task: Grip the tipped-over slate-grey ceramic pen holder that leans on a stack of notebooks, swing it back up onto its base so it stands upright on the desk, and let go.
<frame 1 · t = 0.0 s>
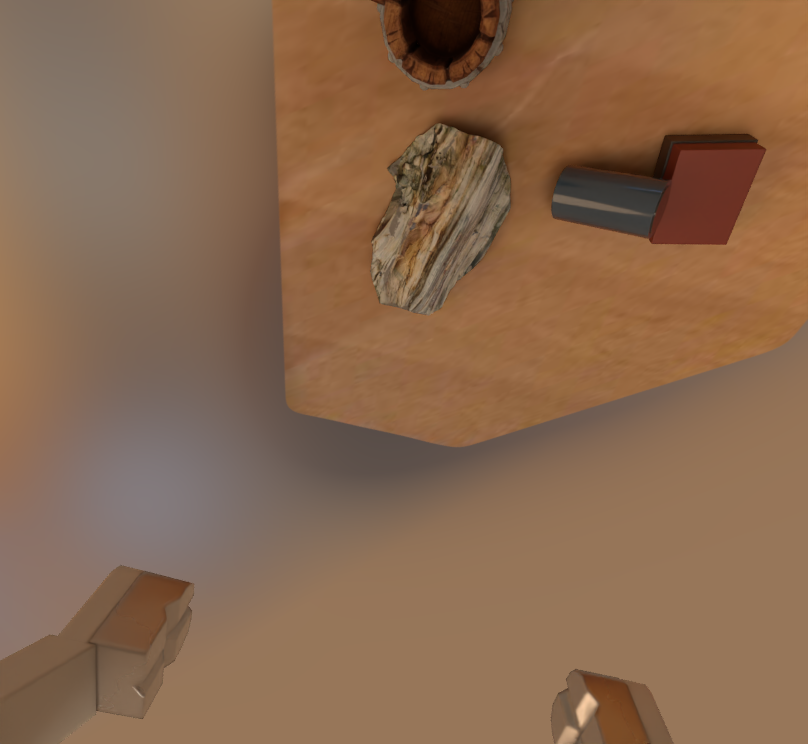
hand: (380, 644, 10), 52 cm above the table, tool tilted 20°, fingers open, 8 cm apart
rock: (433, 220, 57), on the table
pen holder: (609, 200, 48), point 5 cm above the table, hinge at 60.0°
mug: (433, 5, 44), on the table
notebooks: (689, 184, 51), on the table
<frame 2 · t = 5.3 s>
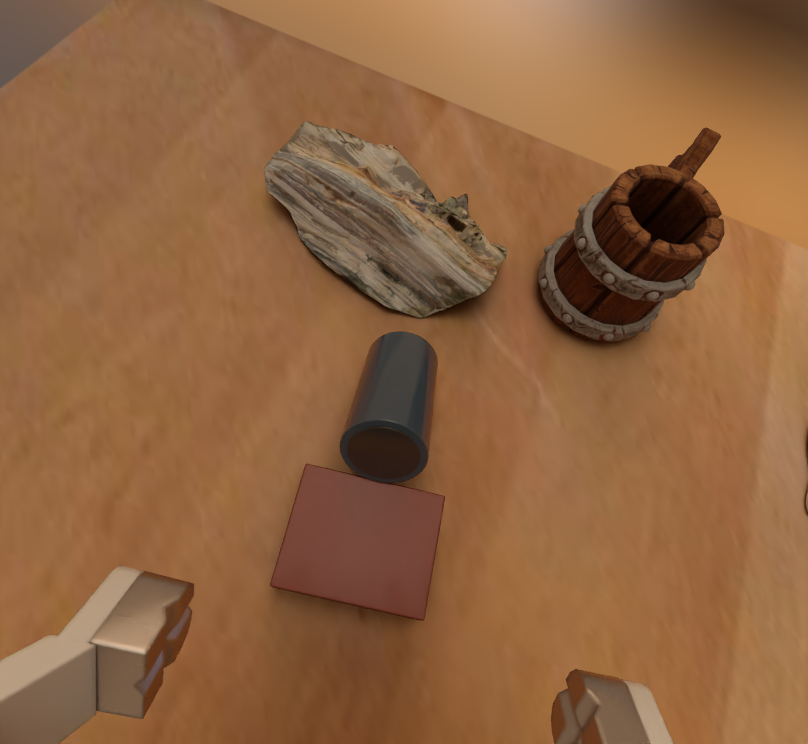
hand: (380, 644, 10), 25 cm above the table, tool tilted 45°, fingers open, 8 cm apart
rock: (386, 229, 45), on the table
pen holder: (394, 402, 33), point 5 cm above the table, hinge at 60.0°
mug: (594, 282, 46), on the table
notebooks: (359, 541, 34), on the table
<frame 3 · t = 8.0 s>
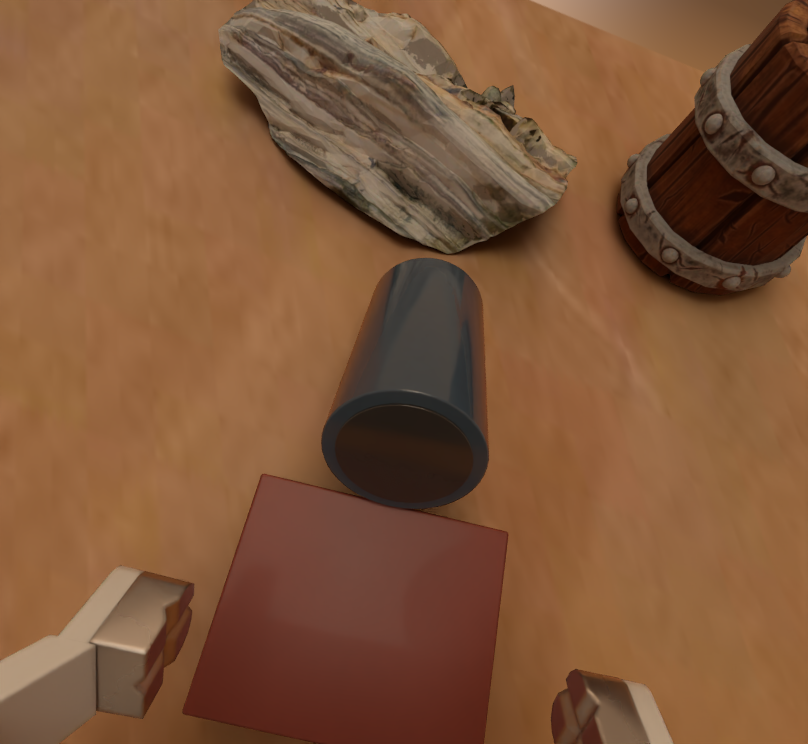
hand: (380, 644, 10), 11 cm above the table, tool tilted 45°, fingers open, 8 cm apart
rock: (398, 133, 31), on the table
pen holder: (417, 368, 19), point 5 cm above the table, hinge at 60.0°
mug: (692, 214, 32), on the table
notebooks: (356, 602, 20), on the table
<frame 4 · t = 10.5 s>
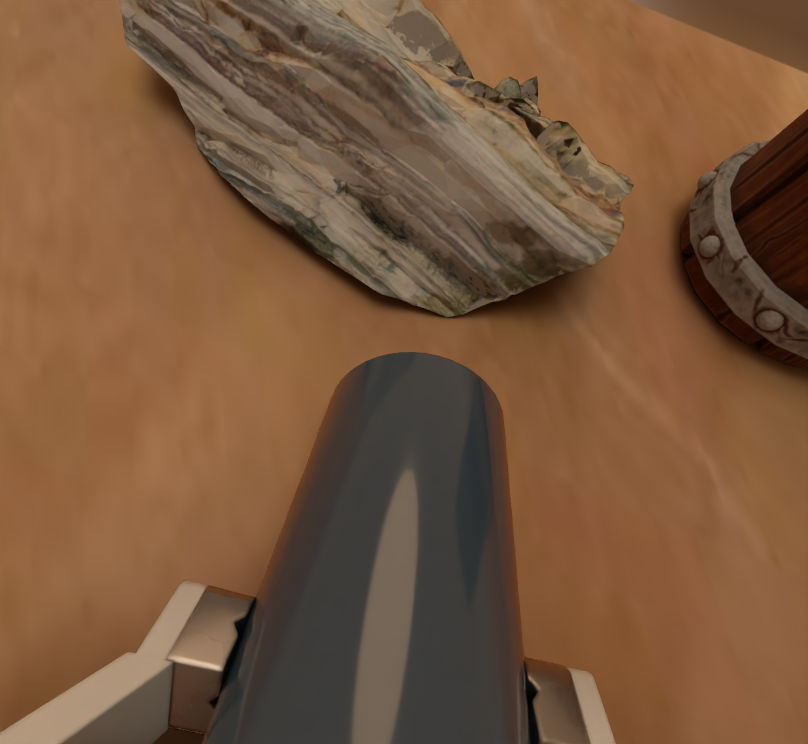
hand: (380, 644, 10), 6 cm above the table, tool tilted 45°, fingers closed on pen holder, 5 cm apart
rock: (380, 142, 23), on the table
pen holder: (394, 569, 11), point 5 cm above the table, hinge at 60.0°, touching gripper
mug: (780, 251, 24), on the table
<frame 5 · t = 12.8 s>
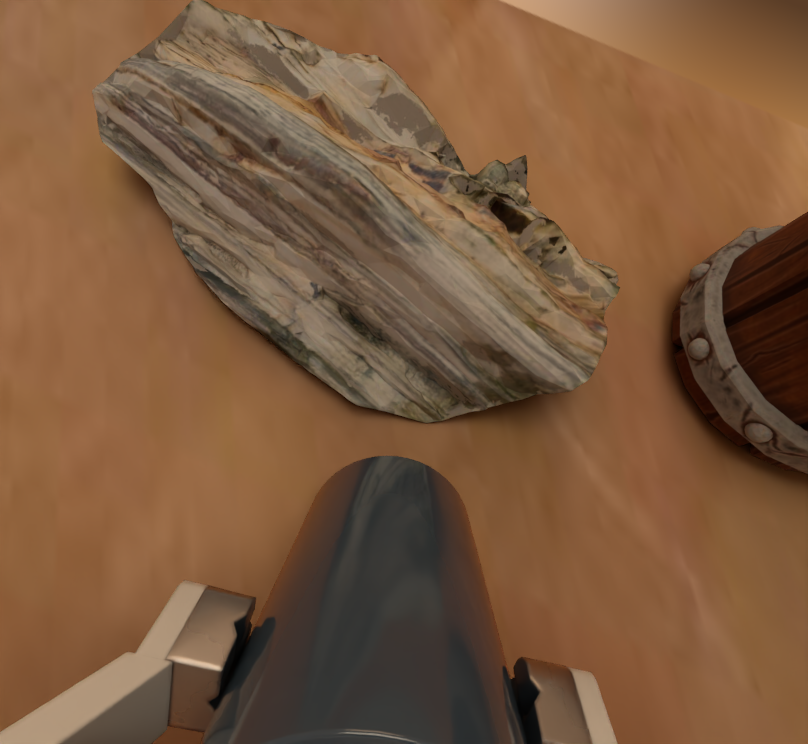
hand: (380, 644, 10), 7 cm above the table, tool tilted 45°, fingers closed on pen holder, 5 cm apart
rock: (363, 225, 22), on the table
pen holder: (378, 640, 11), point 6 cm above the table, hinge at 30.7°, touching gripper
mug: (776, 336, 23), on the table
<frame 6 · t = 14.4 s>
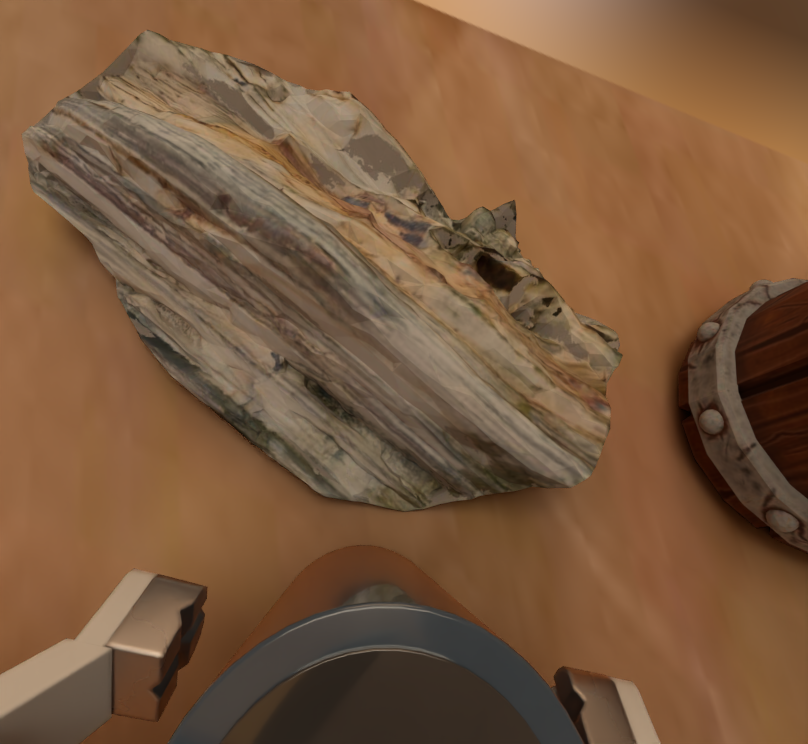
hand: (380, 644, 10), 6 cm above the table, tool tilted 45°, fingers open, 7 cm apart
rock: (336, 278, 20), on the table
pen holder: (364, 702, 10), point 5 cm above the table, hinge at 5.7°
mug: (791, 396, 21), on the table
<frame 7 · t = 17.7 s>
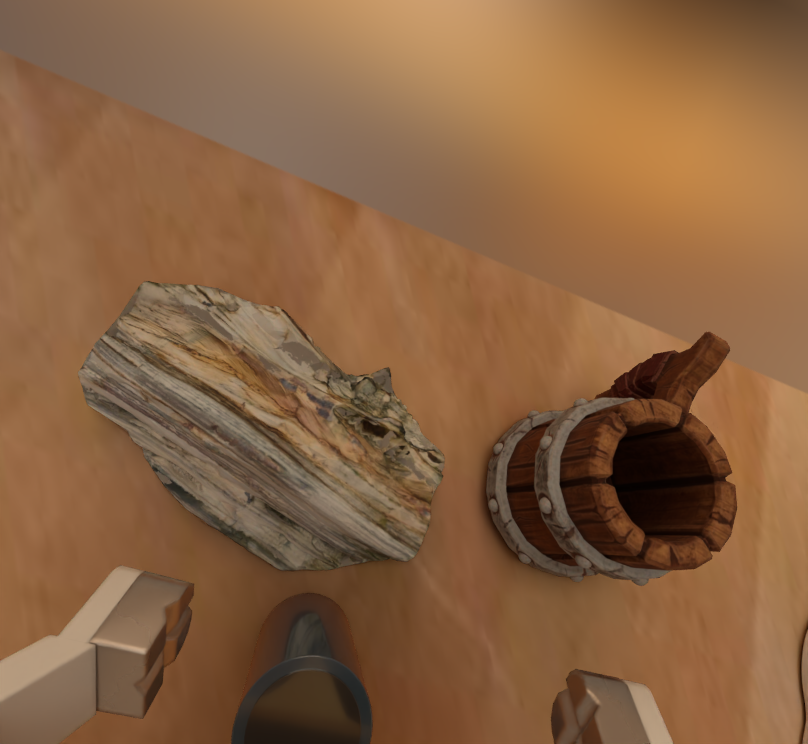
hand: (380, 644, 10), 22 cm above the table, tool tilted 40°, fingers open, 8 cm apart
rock: (279, 424, 32), on the table
pen holder: (304, 678, 24), point 5 cm above the table, hinge at 5.7°
mug: (555, 471, 36), on the table
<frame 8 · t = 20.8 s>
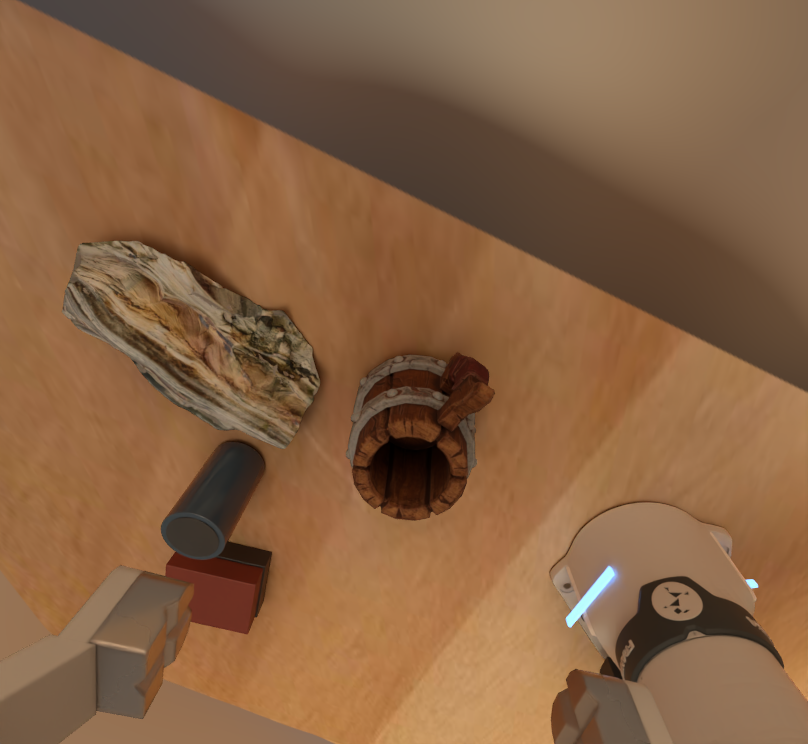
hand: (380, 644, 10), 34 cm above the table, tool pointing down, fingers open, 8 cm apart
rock: (210, 337, 44), on the table
pen holder: (217, 496, 44), point 5 cm above the table, hinge at 5.7°
mug: (423, 391, 45), on the table
notebooks: (225, 567, 55), on the table
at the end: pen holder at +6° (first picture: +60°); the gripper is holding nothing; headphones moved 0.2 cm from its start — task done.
